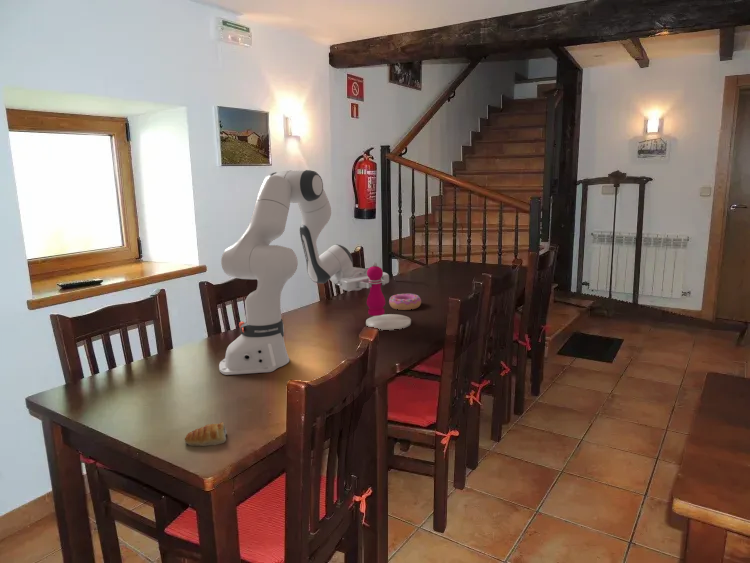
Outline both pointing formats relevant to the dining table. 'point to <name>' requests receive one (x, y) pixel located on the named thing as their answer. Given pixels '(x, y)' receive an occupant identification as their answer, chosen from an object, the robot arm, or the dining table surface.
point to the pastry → (207, 435)
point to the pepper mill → (375, 291)
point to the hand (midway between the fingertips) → (376, 284)
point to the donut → (405, 301)
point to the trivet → (388, 322)
